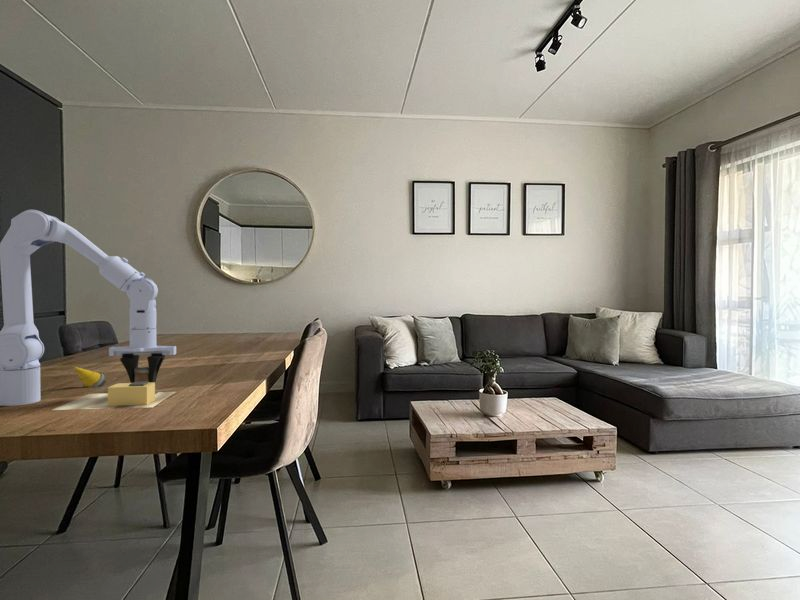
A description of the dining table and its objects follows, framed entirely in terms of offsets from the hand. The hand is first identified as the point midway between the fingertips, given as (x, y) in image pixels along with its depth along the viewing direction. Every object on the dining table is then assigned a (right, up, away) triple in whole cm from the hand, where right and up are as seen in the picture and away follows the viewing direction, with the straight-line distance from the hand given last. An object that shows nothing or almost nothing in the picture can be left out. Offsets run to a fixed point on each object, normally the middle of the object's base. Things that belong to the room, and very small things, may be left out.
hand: (143, 385), depth 116 cm
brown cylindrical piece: (0, -2, 0) cm, 2 cm away
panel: (-3, -4, -5) cm, 7 cm away
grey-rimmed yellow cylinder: (-19, -4, +10) cm, 22 cm away
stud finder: (+2, -3, -8) cm, 8 cm away
